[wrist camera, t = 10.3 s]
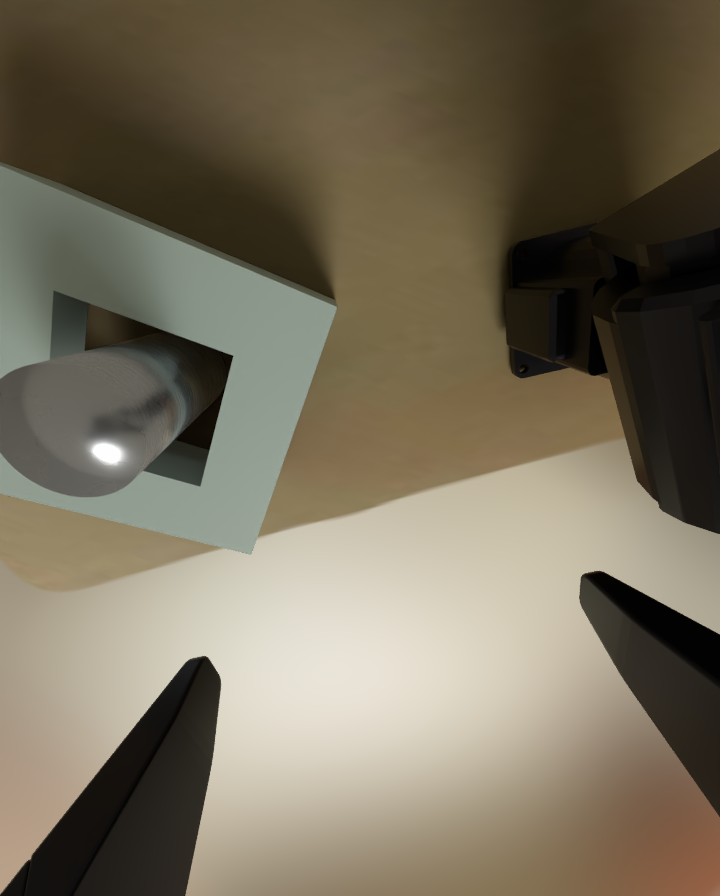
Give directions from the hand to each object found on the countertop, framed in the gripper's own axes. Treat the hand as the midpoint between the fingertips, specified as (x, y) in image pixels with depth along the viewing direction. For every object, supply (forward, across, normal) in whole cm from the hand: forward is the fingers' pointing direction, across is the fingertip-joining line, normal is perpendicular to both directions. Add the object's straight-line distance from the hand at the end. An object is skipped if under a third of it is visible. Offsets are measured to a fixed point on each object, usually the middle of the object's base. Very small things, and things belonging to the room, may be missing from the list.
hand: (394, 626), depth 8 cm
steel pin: (+13, +8, -5) cm, 16 cm away
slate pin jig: (+13, +8, -5) cm, 16 cm away
